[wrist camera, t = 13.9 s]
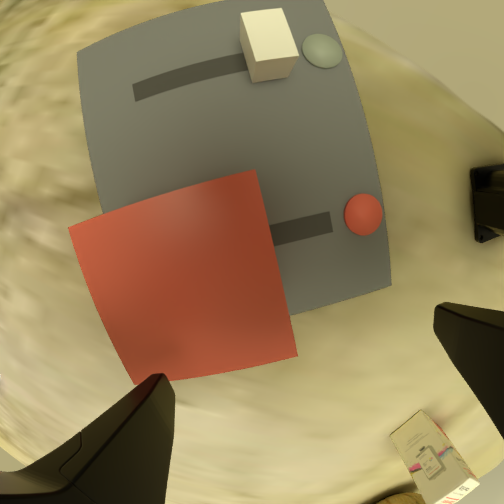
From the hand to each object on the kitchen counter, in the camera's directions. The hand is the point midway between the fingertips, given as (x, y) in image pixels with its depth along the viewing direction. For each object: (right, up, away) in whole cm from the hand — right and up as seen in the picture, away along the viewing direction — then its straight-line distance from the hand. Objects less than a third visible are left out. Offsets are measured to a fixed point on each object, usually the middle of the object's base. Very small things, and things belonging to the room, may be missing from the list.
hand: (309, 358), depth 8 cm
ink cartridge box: (+18, -18, +17) cm, 31 cm away
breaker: (-1, +14, +5) cm, 15 cm away
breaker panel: (-3, +9, +9) cm, 13 cm away
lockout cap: (-5, +3, +8) cm, 9 cm away
